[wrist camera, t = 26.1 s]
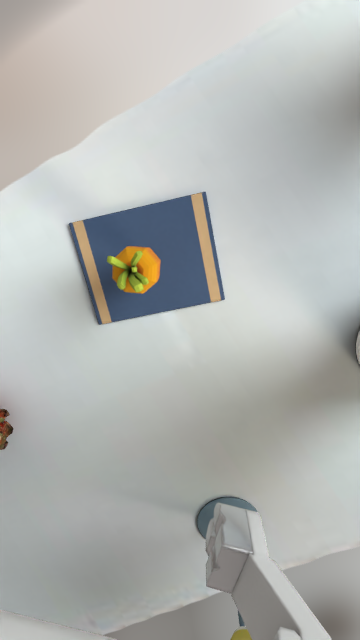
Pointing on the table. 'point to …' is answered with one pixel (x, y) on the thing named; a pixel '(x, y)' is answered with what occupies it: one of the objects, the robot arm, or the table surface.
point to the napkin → (166, 242)
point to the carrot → (135, 269)
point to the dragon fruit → (4, 429)
